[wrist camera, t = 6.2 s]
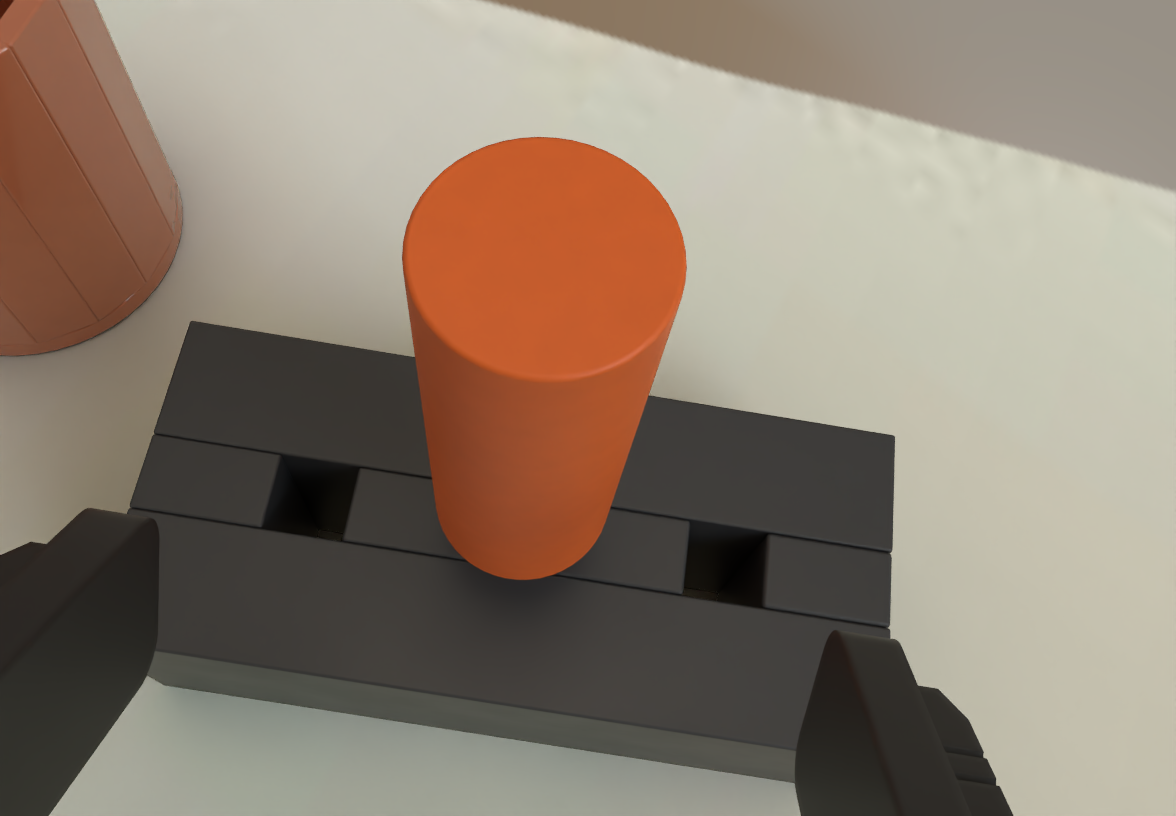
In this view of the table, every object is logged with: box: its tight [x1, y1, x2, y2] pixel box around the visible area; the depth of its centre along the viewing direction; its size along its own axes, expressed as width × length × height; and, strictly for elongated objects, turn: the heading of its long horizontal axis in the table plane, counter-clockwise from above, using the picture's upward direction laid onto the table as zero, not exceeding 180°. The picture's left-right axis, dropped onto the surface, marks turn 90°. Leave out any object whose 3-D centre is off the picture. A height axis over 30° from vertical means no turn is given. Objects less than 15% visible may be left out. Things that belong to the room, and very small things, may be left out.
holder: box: [127, 321, 895, 783], centre depth 23 cm, size 6×14×5 cm, turn 82°
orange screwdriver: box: [402, 137, 687, 580], centre depth 18 cm, size 3×3×15 cm
